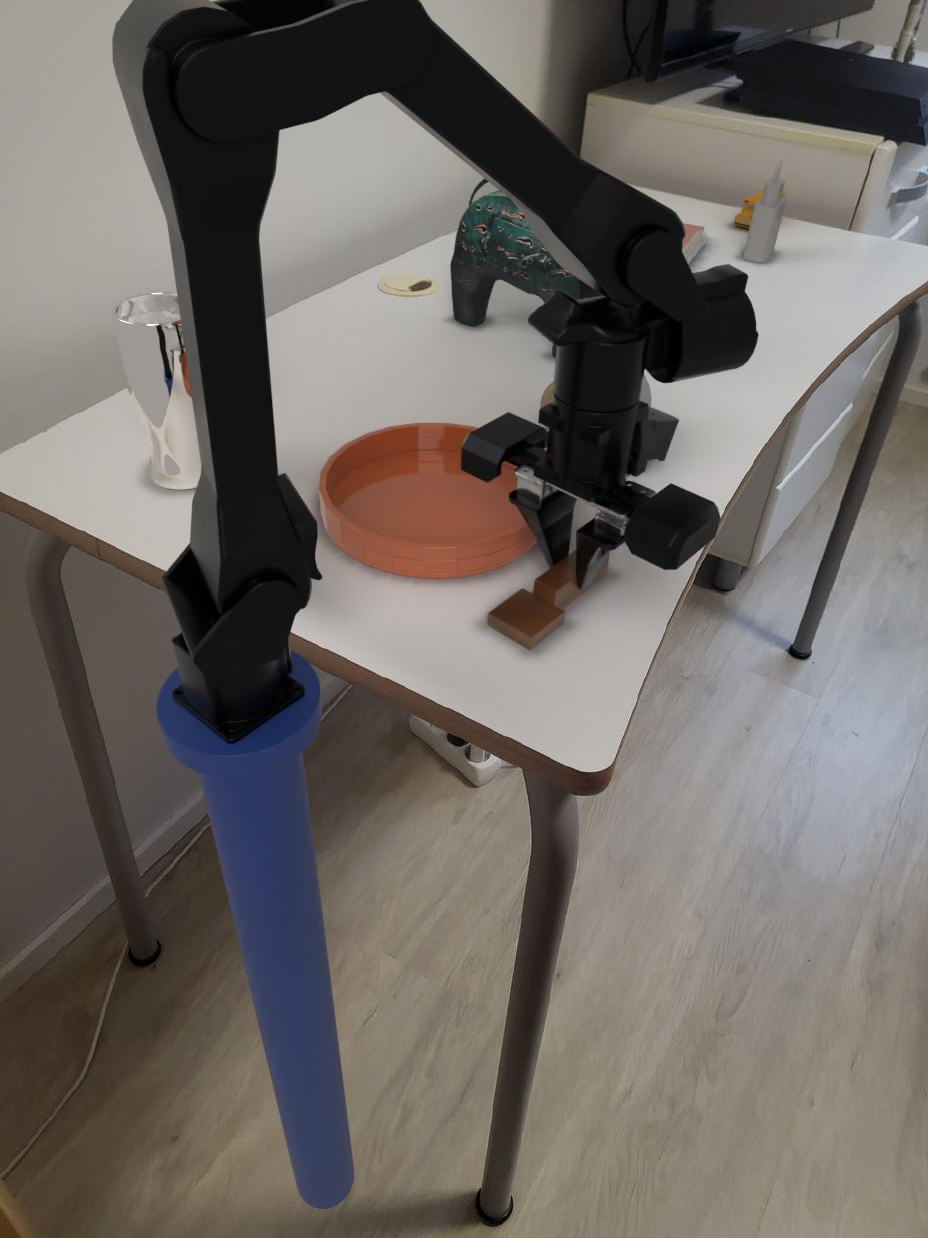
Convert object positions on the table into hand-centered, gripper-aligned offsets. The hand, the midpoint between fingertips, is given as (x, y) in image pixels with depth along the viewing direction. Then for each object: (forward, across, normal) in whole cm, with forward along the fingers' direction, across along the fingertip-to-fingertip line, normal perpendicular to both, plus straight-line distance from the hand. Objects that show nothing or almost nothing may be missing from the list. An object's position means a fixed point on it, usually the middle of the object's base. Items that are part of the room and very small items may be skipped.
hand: (571, 580), depth 71 cm
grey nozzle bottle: (+1, +25, -78) cm, 82 cm away
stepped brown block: (+1, 0, +2) cm, 2 cm away
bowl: (+1, +15, -1) cm, 15 cm away
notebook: (+1, +37, -63) cm, 73 cm away
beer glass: (+1, +35, +10) cm, 36 cm away
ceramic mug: (+1, +11, -20) cm, 23 cm away
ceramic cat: (+1, +31, -33) cm, 45 cm away
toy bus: (+1, +32, -91) cm, 97 cm away
